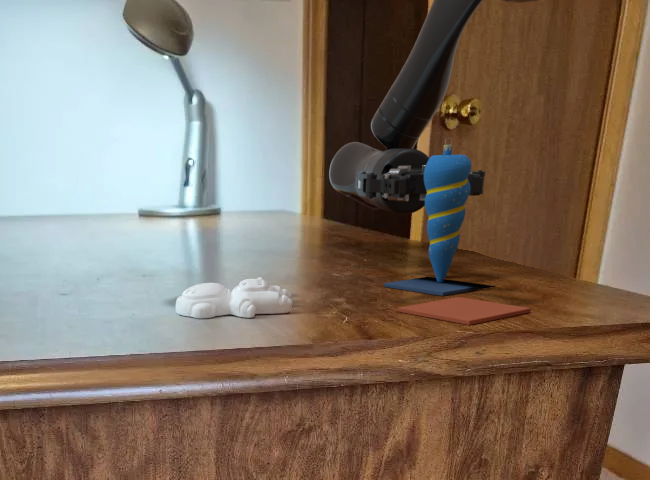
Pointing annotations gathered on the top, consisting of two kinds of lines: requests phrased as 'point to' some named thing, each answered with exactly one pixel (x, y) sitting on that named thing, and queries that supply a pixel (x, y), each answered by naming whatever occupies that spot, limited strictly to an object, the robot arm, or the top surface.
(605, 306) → the top surface
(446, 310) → the terracotta pad
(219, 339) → the top surface
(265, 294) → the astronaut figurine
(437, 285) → the blue pad
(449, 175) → the ornament
